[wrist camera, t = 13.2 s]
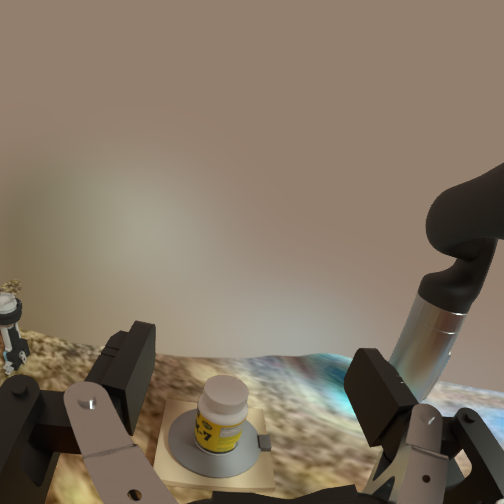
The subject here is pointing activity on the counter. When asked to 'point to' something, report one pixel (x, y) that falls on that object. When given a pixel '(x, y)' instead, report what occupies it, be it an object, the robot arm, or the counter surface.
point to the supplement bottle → (221, 415)
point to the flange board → (211, 466)
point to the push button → (12, 332)
